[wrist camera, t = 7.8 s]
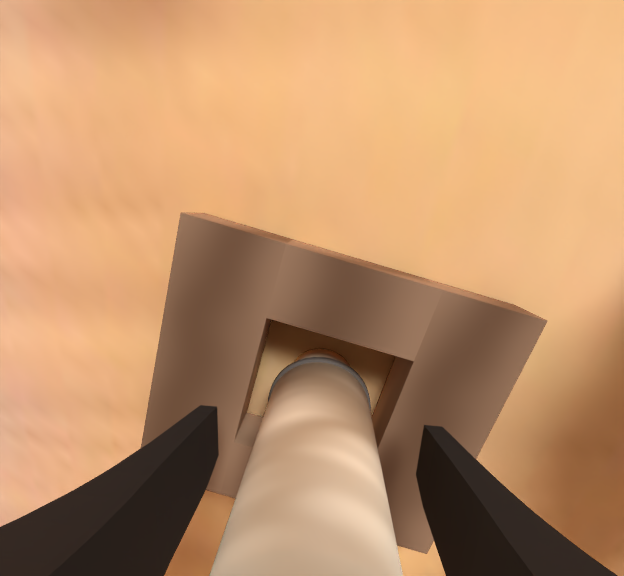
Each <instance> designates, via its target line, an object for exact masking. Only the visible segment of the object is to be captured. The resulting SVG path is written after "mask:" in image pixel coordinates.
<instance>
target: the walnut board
mask: <svg viewBox="0 0 624 576" xmlns="http://www.w3.org/2000/svg"><path fill="white" fill-rule="evenodd" d="M271 320H275V321H278V322H282V323H285V324H288V325H292V326H295V327H299V328H302V329H305V330H309V331H312V332H316V333H319V334H323V335H326V336H329V337H333V338H336V339H340V340H343V341H346V342H350V343H353V344H357V345H360V346H363V347H367V348H370V349H374V350H377V351H380V352H384V353H387V354H391V355H394V356H396V357H395V360H394V362H393V365H392V367H391V370H390V372H389V375H388V378H387V380H386V383H385V385H384V388H383V390H382V393H381V395H380V398H379V400H378V403H377V406H376V408H375V411H374V413H373V416H372V423H373V428H374V433H375V438H376V443H377V448H378V453H379V458H380V463H381V468H382V473H383V478H384V483H385V488H386V493H387V498H388V503H389V508H390V513H391V518H392V523H393V528H394V533H395V538H396V543H397V546H401V547H404V548H408V549H411V550H415V551H418V552H421V553H425V554H427V553H428V551H429V549H430V547H431V545H432V543H433V541H434V539H433V536H432V533H431V530H430V527H429V524H428V521H427V518H426V515H425V512H424V509H423V505H422V500H421V496H420V492H419V487H418V482H417V478H416V470H417V464H418V458H419V452H420V446H421V440H422V434H423V428H424V425H431V426H442V427H443V428H444V429H445V430H447V431H448V432H449V433H450V434H451V435H452V436H453V437H454V438H455V439H456V440H457V441H458V442H459V443H460V444H461V445H462V446H463V447H464V448H465V449H466V450H467V451H468V452H469V453H470V454H471V455H472V456H473V457H474V458H475V459H476V458H477V456H478V454H479V452H480V450H481V448H482V447H483V445H484V443H485V441H486V439H487V437H488V435H489V433H490V431H491V429H492V427H493V425H494V423H495V421H496V419H497V418H498V416H499V414H500V412H501V410H502V408H503V406H504V404H505V402H506V400H507V398H508V396H509V394H510V392H511V391H512V389H513V387H514V385H515V383H516V381H517V379H518V377H519V375H520V373H521V371H522V369H523V367H524V365H525V363H526V362H527V360H528V358H529V356H530V354H531V352H532V350H533V348H534V346H535V344H536V342H537V340H538V338H539V336H540V335H541V333H542V331H543V329H544V327H545V325H546V323H547V320H545V319H543V318H541V317H538V316H536V315H534V314H532V313H530V312H528V311H526V310H524V309H522V308H520V307H518V306H516V305H513V304H509V303H506V302H503V301H499V300H496V299H492V298H489V297H486V296H482V295H479V294H475V293H472V292H469V291H465V290H462V289H459V288H455V287H452V286H448V285H445V284H442V283H438V282H435V281H432V280H428V279H425V278H421V277H418V276H415V275H411V274H408V273H404V272H401V271H398V270H394V269H391V268H388V267H384V266H381V265H377V264H374V263H371V262H367V261H364V260H360V259H357V258H354V257H350V256H347V255H344V254H340V253H337V252H333V251H330V250H327V249H323V248H320V247H316V246H313V245H310V244H306V243H303V242H300V241H296V240H293V239H289V238H286V237H283V236H279V235H276V234H272V233H269V232H266V231H262V230H259V229H256V228H252V227H249V226H245V225H242V224H239V223H235V222H232V221H228V220H225V219H222V218H218V217H215V216H212V215H208V214H205V213H181V214H180V220H179V226H178V232H177V238H176V244H175V250H174V256H173V261H172V267H171V273H170V279H169V285H168V291H167V297H166V303H165V309H164V314H163V320H162V326H161V332H160V338H159V344H158V350H157V356H156V362H155V367H154V373H153V379H152V385H151V391H150V397H149V403H148V409H147V415H146V420H145V426H144V432H143V438H142V444H141V448H142V447H144V446H145V445H147V444H148V443H150V442H151V441H152V440H154V439H155V438H157V437H158V436H159V435H161V434H162V433H163V432H165V431H166V430H167V429H169V428H170V427H172V426H173V425H174V424H176V423H177V422H178V421H180V420H181V419H182V418H184V417H185V416H186V415H188V414H189V413H190V412H192V411H193V410H194V409H196V408H197V407H199V406H200V405H205V406H216V407H217V414H218V450H219V456H218V458H217V461H216V464H215V467H214V470H213V473H212V475H211V478H210V481H209V483H208V486H207V488H206V490H208V491H211V492H215V493H218V494H222V495H225V496H229V497H232V498H236V496H237V493H238V490H239V487H240V484H241V481H242V478H243V475H244V472H245V469H246V466H247V463H248V460H249V458H250V455H251V452H252V449H253V446H254V443H255V440H256V437H257V434H258V431H259V428H260V425H261V422H262V419H263V417H260V416H256V415H253V414H249V413H247V409H248V405H249V402H250V398H251V394H252V391H253V387H254V383H255V379H256V376H257V372H258V368H259V364H260V361H261V357H262V353H263V350H264V346H265V342H266V338H267V335H268V331H269V327H270V323H271Z"/></svg>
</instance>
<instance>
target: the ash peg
mask: <svg viewBox="0 0 624 576" xmlns="http://www.w3.org/2000/svg"><path fill="white" fill-rule="evenodd" d="M370 409H371V404H370V398H369V393H368V390H367V387H366V385H365V383H364V381H363V380H362V378H361V377H360V376H359V375H358V373H357V372H355V371H354V370H353V369H352V368H351V367H350V366H349V364H348V363H347V361H346V360H345V359H344V358H343V357H342V356H341V355H339V354H338V353H336V352H334V351H331V350H328V349H312V350H309V351H306V352H304V353H303V354H301V355H300V356H299V357H298V358H297V359H296V360H295V361H294V362H293V363H292V364H290V365H288V366H287V367H286V368H284V369H283V370H282V371H281V372H280V373H279V374H278V376H277V377H276V379H275V380H274V382H273V384H272V387H271V390H270V393H269V397H268V405H267V408H266V411H265V413H264V416H263V419H262V422H261V425H260V428H259V431H258V434H257V437H256V440H255V443H254V446H253V449H252V452H251V455H250V458H249V460H248V463H247V466H246V469H245V472H244V475H243V478H242V481H241V484H240V487H239V490H238V493H237V496H236V499H235V502H234V505H233V508H232V510H231V513H230V516H229V519H228V522H227V525H226V528H225V531H224V534H223V537H222V540H221V543H220V546H219V549H218V552H217V555H216V557H215V560H214V563H213V566H212V569H211V572H210V575H209V576H403V573H402V568H401V563H400V558H399V553H398V548H397V543H396V538H395V533H394V528H393V523H392V518H391V513H390V508H389V503H388V498H387V493H386V488H385V483H384V478H383V473H382V468H381V463H380V458H379V453H378V448H377V443H376V438H375V433H374V428H373V423H372V418H371V413H370Z"/></svg>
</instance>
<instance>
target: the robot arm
mask: <svg viewBox="0 0 624 576" xmlns="http://www.w3.org/2000/svg"><path fill="white" fill-rule="evenodd" d="M218 456H219V450H218V414H217V407H216V406H205V405H200V406H199V407H197V408H196V409H194V410H193V411H192V412H190V413H189V414H188V415H186V416H185V417H184V418H182V419H181V420H180V421H178V422H177V423H176V424H174V425H173V426H172V427H170V428H169V429H167V430H166V431H165V432H163V433H162V434H161V435H159V436H158V437H157V438H155V439H154V440H152V441H151V442H150V443H148V444H147V445H145V446H144V447H142V448H141V449H139V450H138V451H136V452H135V453H133V454H132V455H130V456H129V457H127V458H126V459H124V460H123V461H121V462H120V463H118V464H117V465H115V466H114V467H112V468H111V469H109V470H107V471H106V472H104V473H102V474H101V475H99V476H97V477H96V478H94V479H92V480H91V481H89V482H87V483H85V484H84V485H82V486H80V487H78V488H77V489H75V490H73V491H71V492H69V493H68V494H66V495H64V496H62V497H60V498H58V499H56V500H54V501H52V502H50V503H48V504H46V505H44V506H42V507H40V508H38V509H37V510H35V511H33V512H31V513H29V514H27V515H25V516H23V517H21V518H19V519H17V520H14V521H12V522H10V523H8V524H6V525H4V526H2V527H0V576H164V574H165V572H166V570H167V568H168V566H169V563H170V561H171V559H172V557H173V555H174V553H175V551H176V549H177V547H178V545H179V543H180V541H181V539H182V537H183V535H184V533H185V531H186V529H187V527H188V525H189V523H190V521H191V519H192V517H193V515H194V513H195V511H196V509H197V507H198V505H199V502H200V500H201V498H202V496H203V494H204V492H205V490H206V488H207V486H208V483H209V481H210V478H211V475H212V473H213V470H214V467H215V464H216V461H217V458H218ZM416 478H417V482H418V487H419V492H420V496H421V500H422V505H423V509H424V512H425V515H426V518H427V521H428V524H429V527H430V530H431V533H432V536H433V539H434V542H435V545H436V547H437V550H438V553H439V556H440V559H441V562H442V565H443V568H444V571H445V574H446V576H617V575H616V574H614V573H613V572H611V571H610V570H609V569H607V568H606V567H604V566H603V565H602V564H600V563H599V562H597V561H596V560H595V559H593V558H592V557H590V556H589V555H588V554H586V553H585V552H584V551H582V550H581V549H580V548H578V547H577V546H576V545H574V544H573V543H572V542H571V541H569V540H568V539H567V538H566V537H564V536H563V535H562V534H560V533H559V532H558V531H557V530H555V529H554V528H553V527H552V526H550V525H549V524H548V523H546V522H545V521H544V520H543V519H542V518H540V517H539V516H538V515H537V514H536V513H534V512H533V511H532V510H531V509H530V508H528V507H527V506H526V505H525V504H524V503H523V502H522V501H520V500H519V499H518V498H517V497H516V496H515V495H514V494H512V493H511V492H510V491H509V490H508V489H507V488H506V487H505V486H504V485H502V484H501V483H500V482H499V481H498V480H497V479H496V478H495V477H494V476H493V475H492V474H491V473H490V472H489V471H487V470H486V469H485V468H484V467H483V466H482V465H481V464H480V463H479V462H478V461H477V460H476V459H475V458H474V457H473V456H472V455H471V454H470V453H469V452H468V451H467V450H466V449H465V448H464V447H463V446H462V445H461V444H460V443H459V442H458V441H457V440H456V439H455V438H454V437H453V436H452V435H451V434H450V433H449V432H448V431H447V430H445V429H444V428H443V427H442V426H431V425H424V428H423V434H422V440H421V446H420V452H419V458H418V464H417V470H416Z"/></svg>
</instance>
